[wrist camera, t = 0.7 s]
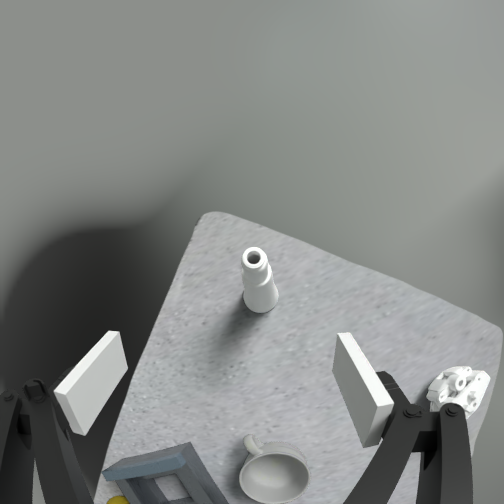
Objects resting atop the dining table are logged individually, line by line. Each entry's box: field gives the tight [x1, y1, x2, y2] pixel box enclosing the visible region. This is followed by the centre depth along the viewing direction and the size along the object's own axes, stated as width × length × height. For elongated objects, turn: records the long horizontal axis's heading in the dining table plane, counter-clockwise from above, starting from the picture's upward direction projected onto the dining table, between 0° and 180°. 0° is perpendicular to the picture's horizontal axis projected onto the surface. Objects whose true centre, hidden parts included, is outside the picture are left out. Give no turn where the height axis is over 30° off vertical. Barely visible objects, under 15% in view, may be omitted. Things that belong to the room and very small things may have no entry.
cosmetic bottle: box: [241, 247, 278, 313], centre depth 39 cm, size 6×6×22 cm
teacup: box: [239, 434, 311, 504], centre depth 36 cm, size 14×11×8 cm
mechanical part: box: [426, 366, 490, 419], centre depth 35 cm, size 11×12×12 cm
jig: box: [102, 442, 229, 504], centre depth 34 cm, size 16×16×8 cm
